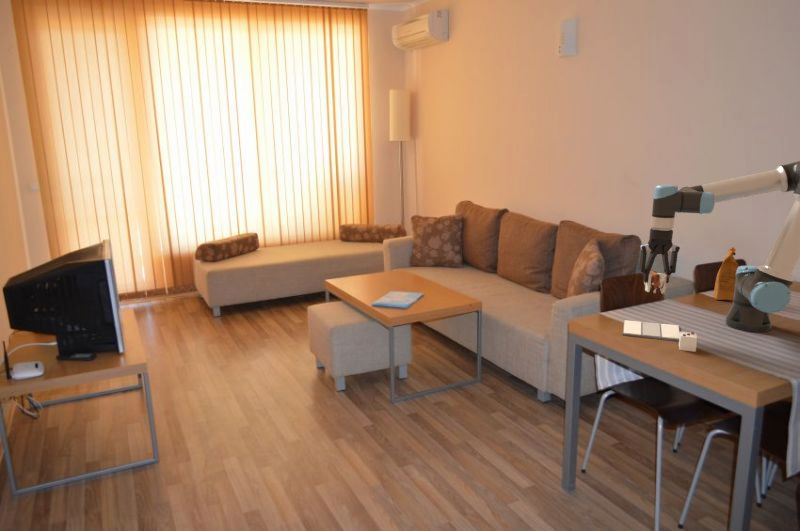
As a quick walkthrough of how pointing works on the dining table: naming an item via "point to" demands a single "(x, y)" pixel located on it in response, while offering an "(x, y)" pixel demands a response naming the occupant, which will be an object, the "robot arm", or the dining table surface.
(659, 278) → the bull figurine
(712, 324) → the dining table surface
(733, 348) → the dining table surface
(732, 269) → the coffee package
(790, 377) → the dining table surface
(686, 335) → the white block with holes
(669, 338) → the game board
